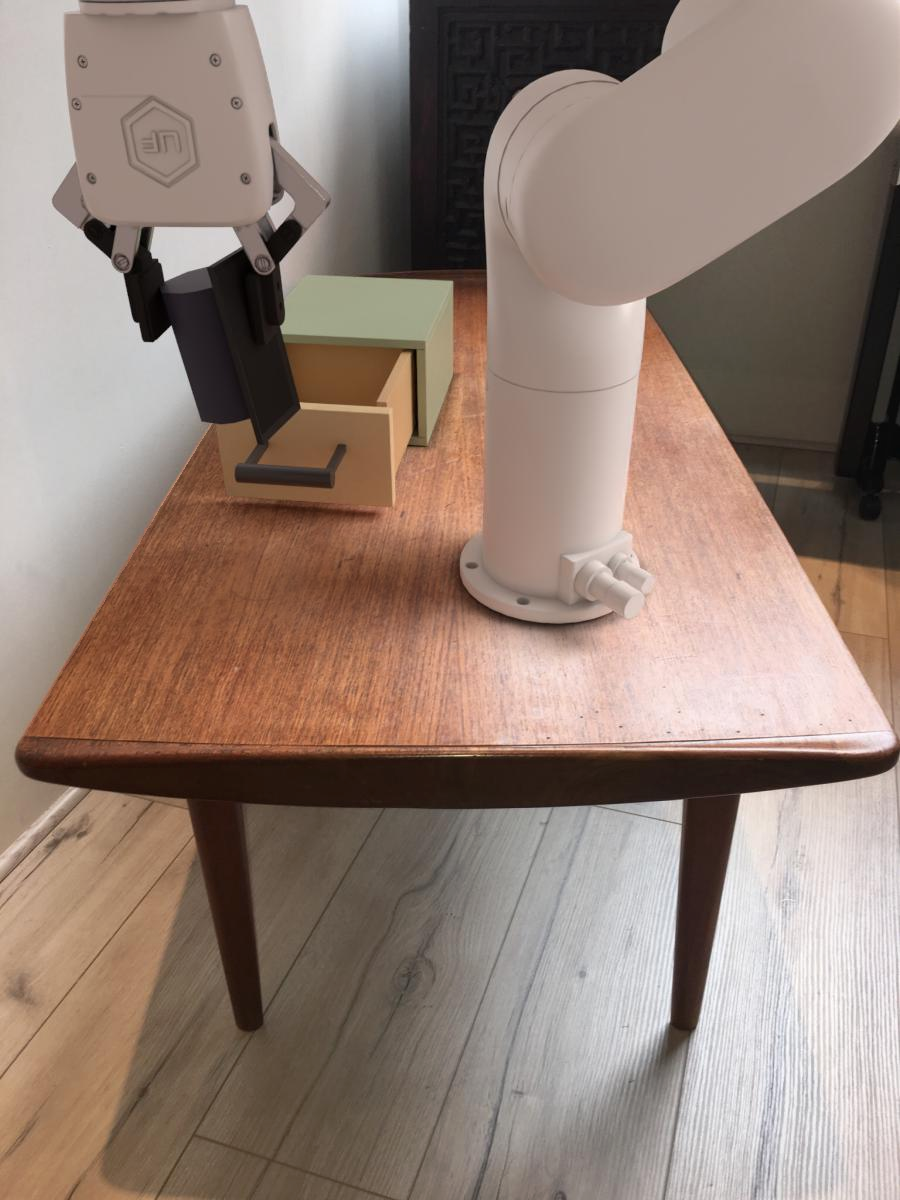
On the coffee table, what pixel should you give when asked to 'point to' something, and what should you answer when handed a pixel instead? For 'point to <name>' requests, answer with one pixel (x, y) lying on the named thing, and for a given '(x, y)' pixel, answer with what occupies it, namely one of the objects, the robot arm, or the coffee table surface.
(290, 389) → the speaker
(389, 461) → the drawer
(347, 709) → the coffee table surface
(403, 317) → the cabinet
